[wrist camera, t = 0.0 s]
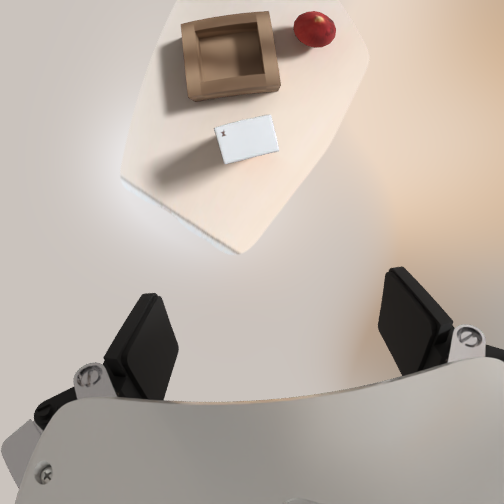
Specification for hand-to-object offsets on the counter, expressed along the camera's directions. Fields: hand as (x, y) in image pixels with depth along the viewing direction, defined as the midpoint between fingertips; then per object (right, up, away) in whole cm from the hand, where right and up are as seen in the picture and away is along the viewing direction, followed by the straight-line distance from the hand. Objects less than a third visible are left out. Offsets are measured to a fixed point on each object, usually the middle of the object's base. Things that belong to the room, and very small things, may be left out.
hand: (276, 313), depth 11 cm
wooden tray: (-4, +30, +21) cm, 37 cm away
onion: (+8, +34, +19) cm, 40 cm away
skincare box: (-1, +19, +26) cm, 32 cm away
